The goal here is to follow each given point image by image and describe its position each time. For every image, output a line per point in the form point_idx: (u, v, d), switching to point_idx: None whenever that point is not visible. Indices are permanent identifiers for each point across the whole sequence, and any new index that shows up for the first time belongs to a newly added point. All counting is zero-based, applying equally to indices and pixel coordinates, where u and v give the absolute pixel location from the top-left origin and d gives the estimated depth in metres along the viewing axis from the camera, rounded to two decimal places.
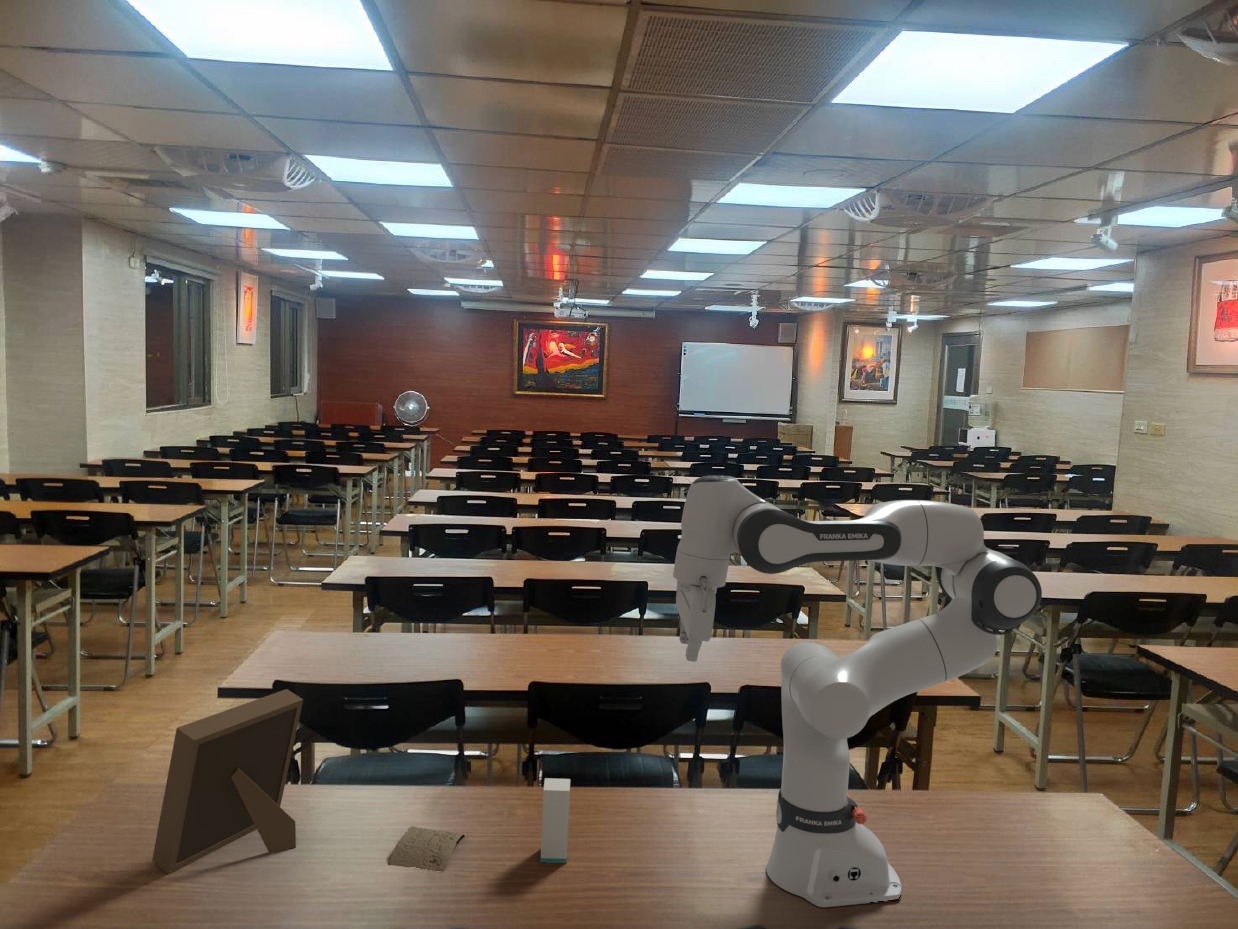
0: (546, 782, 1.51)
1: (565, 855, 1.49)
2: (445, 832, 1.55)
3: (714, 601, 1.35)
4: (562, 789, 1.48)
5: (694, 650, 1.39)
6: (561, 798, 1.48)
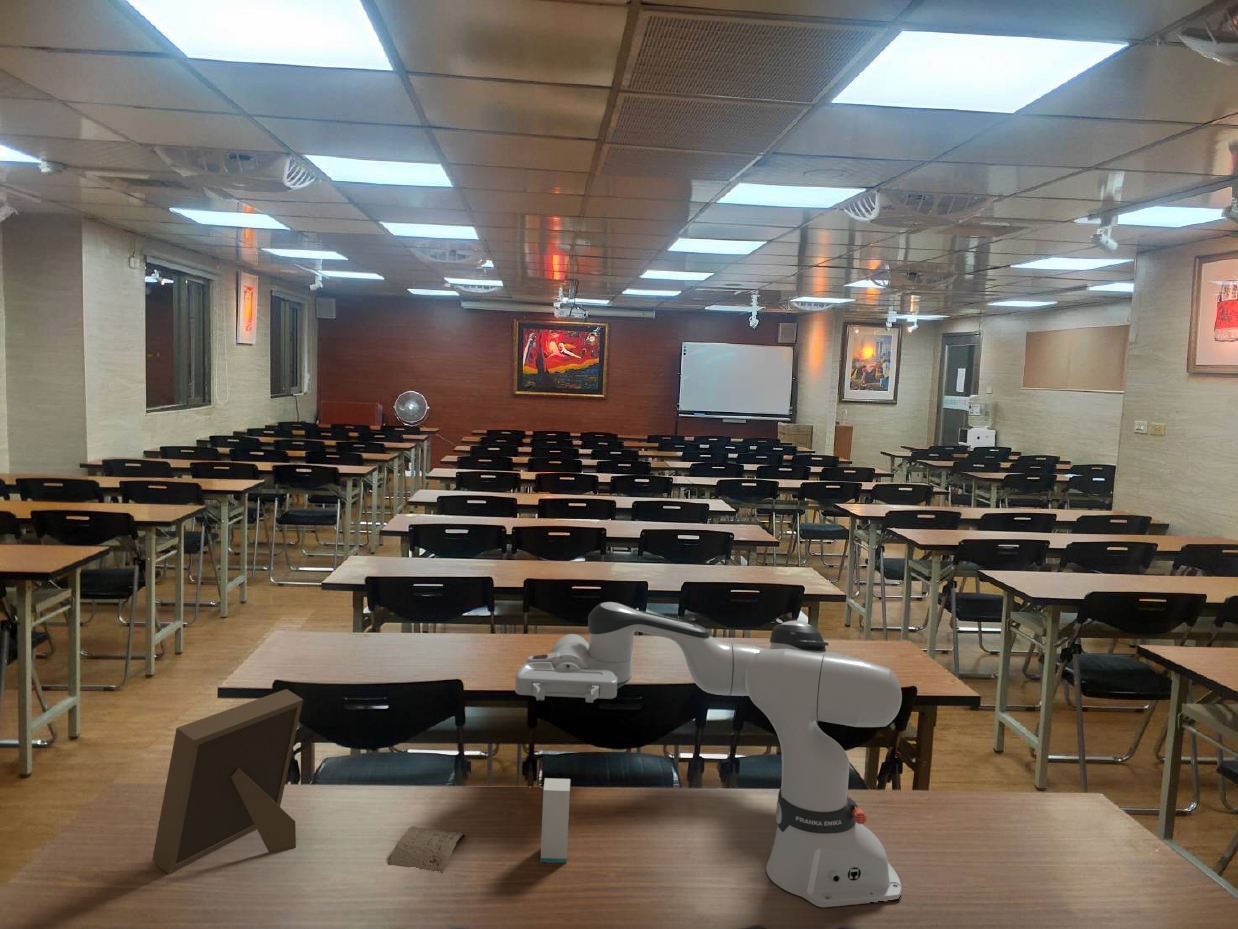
0: (546, 782, 1.51)
1: (565, 855, 1.49)
2: (445, 832, 1.55)
3: None
4: (562, 789, 1.48)
5: (594, 696, 1.67)
6: (561, 798, 1.48)
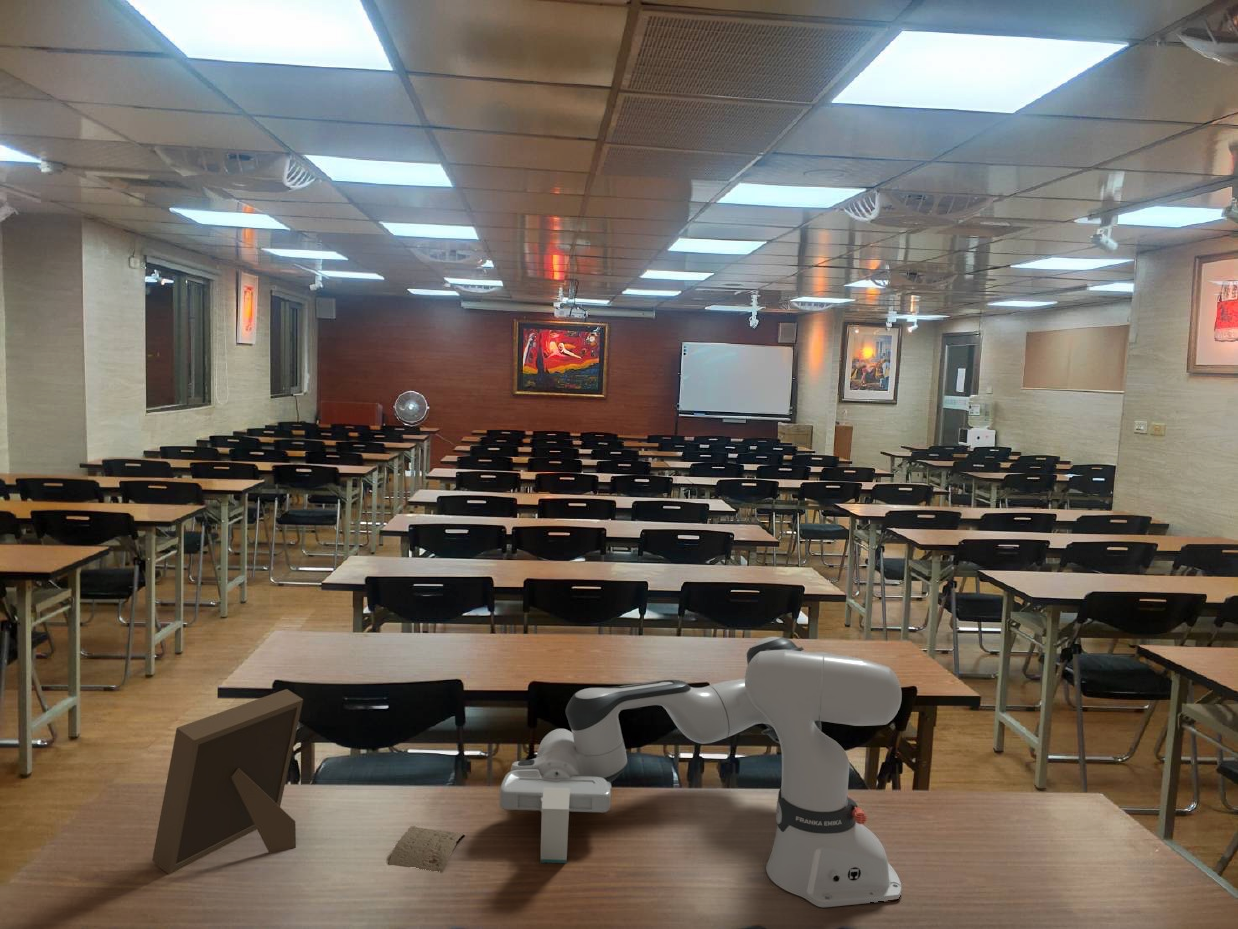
0: (544, 794, 1.46)
1: (565, 857, 1.48)
2: (445, 832, 1.55)
3: None
4: (561, 806, 1.44)
5: None
6: (560, 815, 1.44)
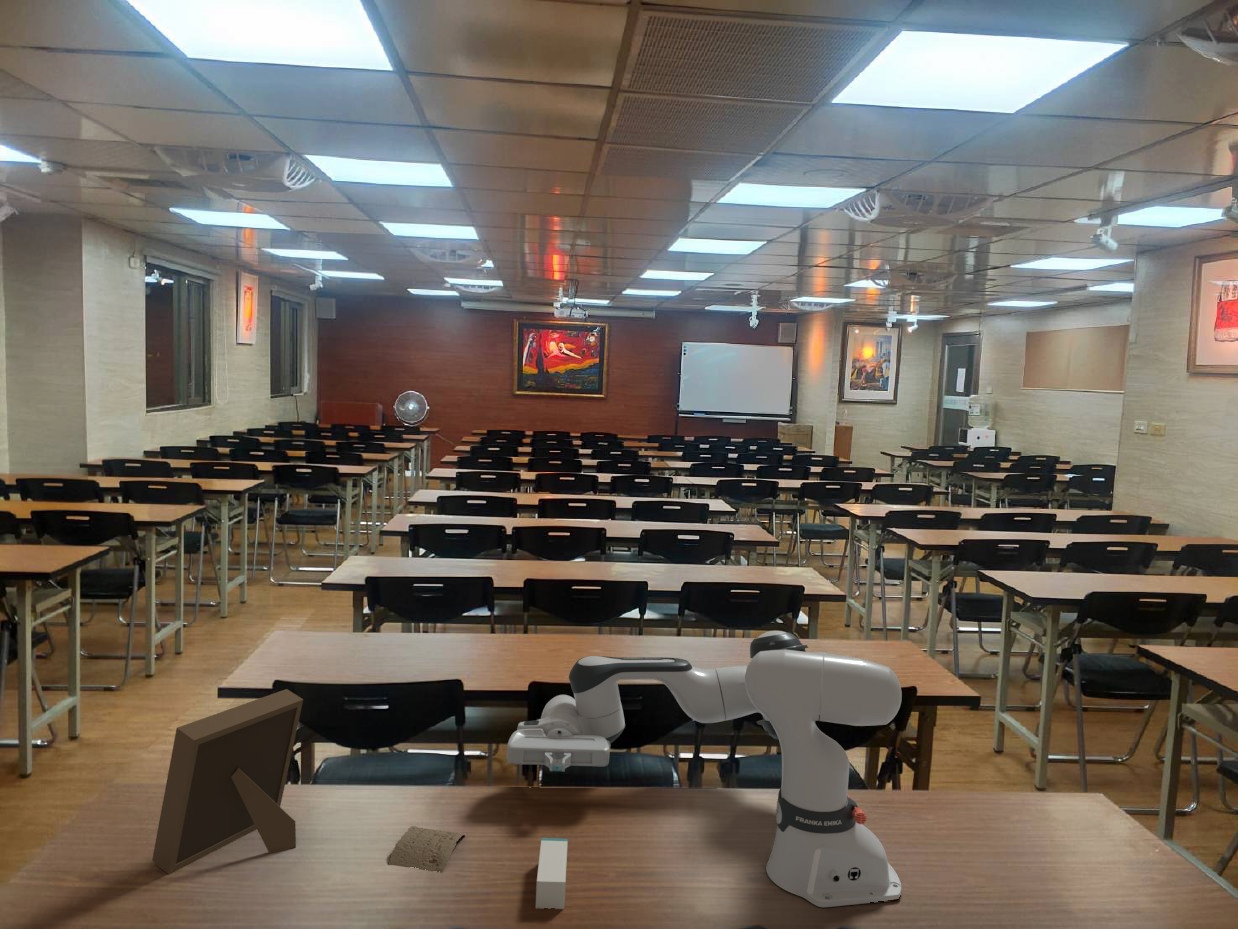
0: (538, 890, 1.35)
1: None
2: (445, 832, 1.55)
3: None
4: (556, 906, 1.36)
5: (565, 764, 1.65)
6: None
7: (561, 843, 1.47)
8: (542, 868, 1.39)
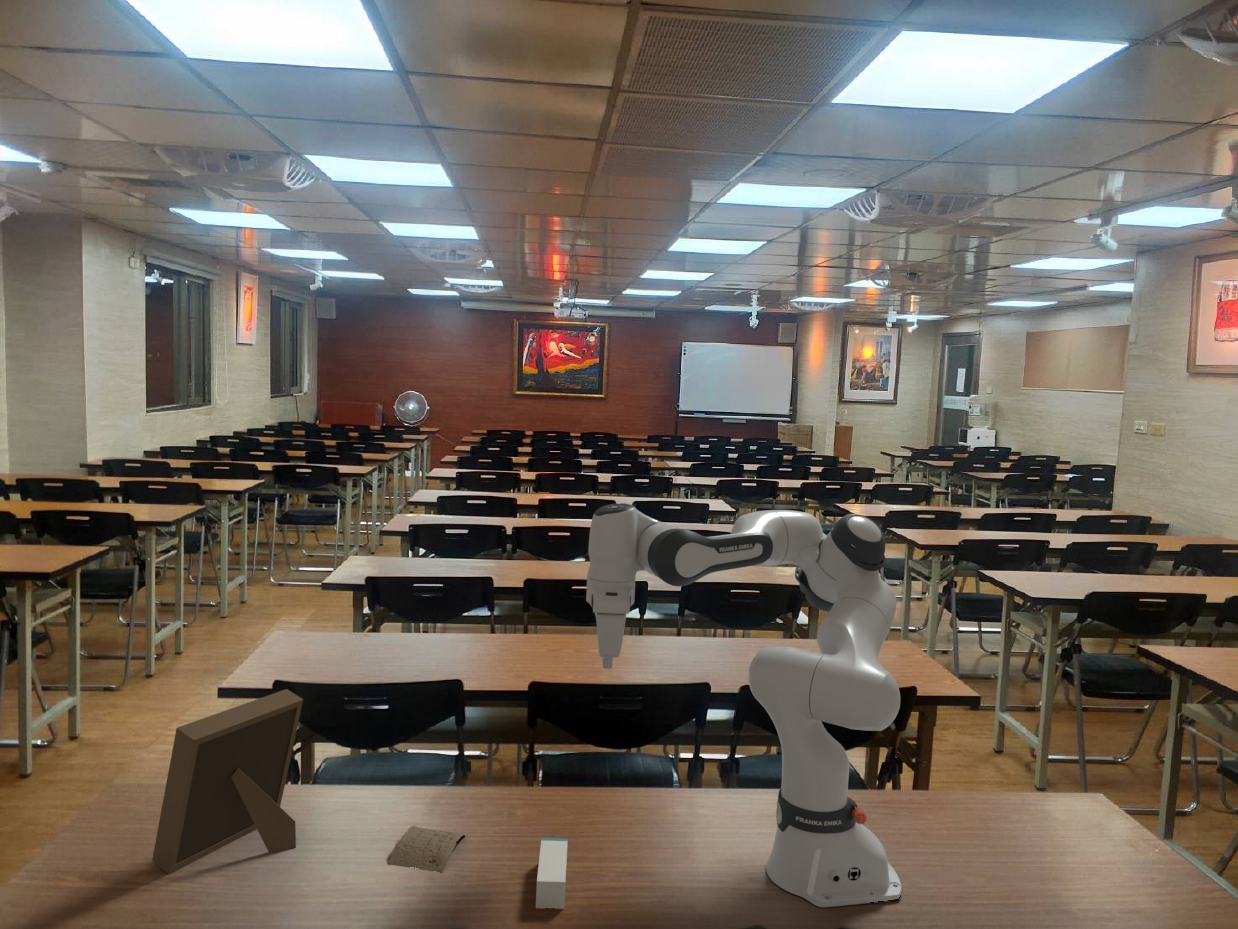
0: (538, 890, 1.35)
1: None
2: (445, 832, 1.55)
3: None
4: (556, 906, 1.36)
5: None
6: None
7: (561, 843, 1.47)
8: (542, 868, 1.39)
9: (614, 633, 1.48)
